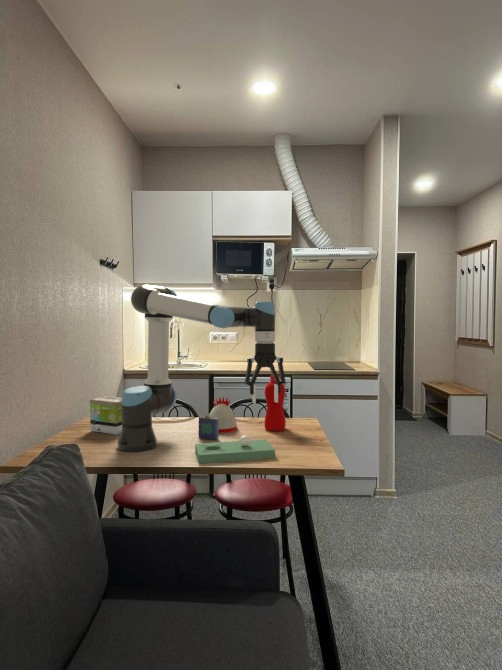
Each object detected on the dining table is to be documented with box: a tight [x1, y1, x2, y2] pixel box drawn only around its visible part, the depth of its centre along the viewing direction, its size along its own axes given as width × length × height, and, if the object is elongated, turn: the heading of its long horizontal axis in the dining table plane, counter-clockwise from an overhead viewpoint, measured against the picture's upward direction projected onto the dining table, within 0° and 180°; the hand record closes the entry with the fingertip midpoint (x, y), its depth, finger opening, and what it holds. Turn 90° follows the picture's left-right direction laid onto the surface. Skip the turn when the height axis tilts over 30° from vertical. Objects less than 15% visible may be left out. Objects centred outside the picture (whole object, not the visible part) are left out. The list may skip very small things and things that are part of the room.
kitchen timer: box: [209, 396, 238, 434], centre depth 204 cm, size 14×14×15 cm
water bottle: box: [264, 374, 286, 432], centre depth 203 cm, size 9×11×25 cm
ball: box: [238, 434, 251, 446], centre depth 167 cm, size 4×4×4 cm
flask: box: [198, 413, 219, 441], centre depth 188 cm, size 9×3×11 cm, turn 68°
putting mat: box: [194, 438, 276, 464], centre depth 166 cm, size 28×14×3 cm, turn 102°
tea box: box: [89, 395, 122, 436], centre depth 201 cm, size 15×10×15 cm, turn 68°
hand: (265, 402), depth 168 cm, fingers open, 8 cm apart
